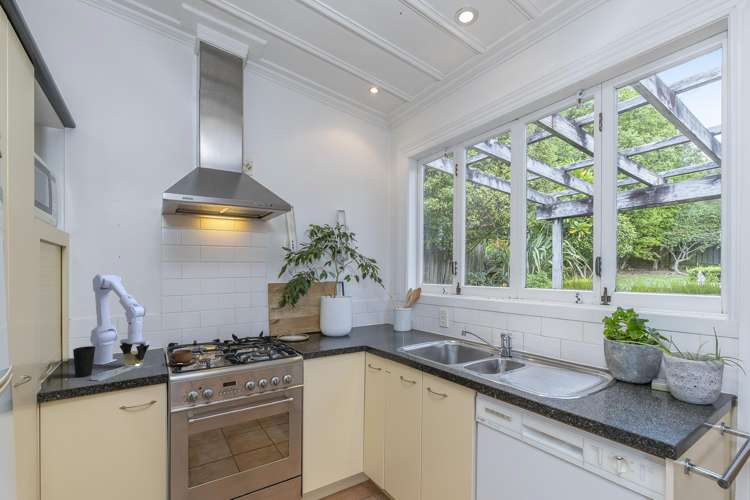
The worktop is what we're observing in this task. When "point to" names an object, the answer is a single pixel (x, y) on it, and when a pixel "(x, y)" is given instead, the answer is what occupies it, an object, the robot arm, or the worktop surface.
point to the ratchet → (115, 372)
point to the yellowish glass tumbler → (132, 358)
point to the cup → (83, 361)
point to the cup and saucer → (182, 357)
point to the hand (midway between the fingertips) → (134, 359)
